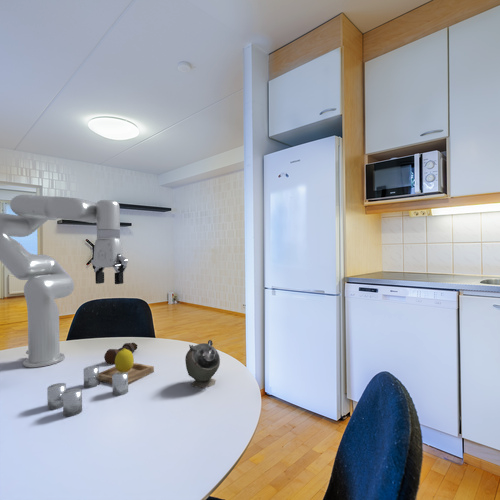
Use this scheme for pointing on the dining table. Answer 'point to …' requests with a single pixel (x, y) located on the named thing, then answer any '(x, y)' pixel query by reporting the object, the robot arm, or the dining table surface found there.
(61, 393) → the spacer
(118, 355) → the lemon
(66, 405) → the cylinder
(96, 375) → the cylinder
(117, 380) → the cylinder
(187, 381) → the dining table surface
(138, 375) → the tray
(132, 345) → the bolt
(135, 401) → the dining table surface
